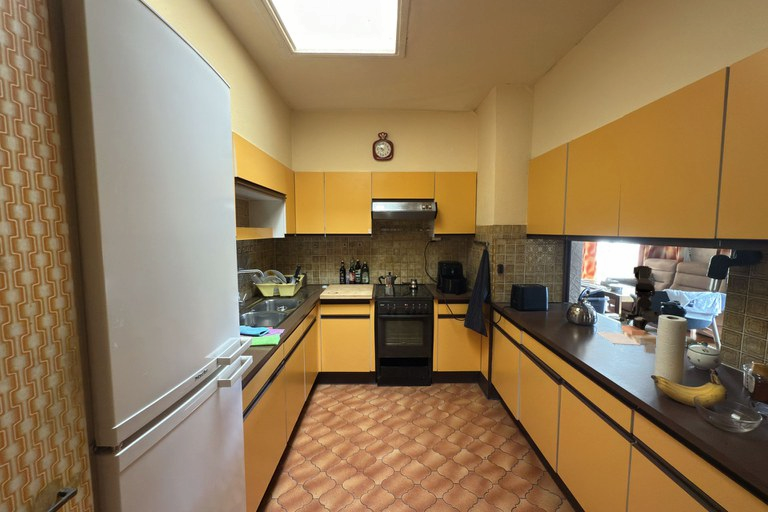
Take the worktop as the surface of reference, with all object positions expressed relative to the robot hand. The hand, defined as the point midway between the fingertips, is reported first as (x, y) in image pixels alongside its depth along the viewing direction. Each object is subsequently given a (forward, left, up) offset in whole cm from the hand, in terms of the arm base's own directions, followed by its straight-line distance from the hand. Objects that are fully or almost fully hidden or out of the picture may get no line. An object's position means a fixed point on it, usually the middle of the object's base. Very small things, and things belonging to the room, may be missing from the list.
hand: (641, 331), depth 168 cm
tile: (0, -4, -1) cm, 4 cm away
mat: (0, -12, -5) cm, 13 cm away
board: (0, 0, -5) cm, 5 cm away
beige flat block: (+18, -8, -5) cm, 20 cm away
